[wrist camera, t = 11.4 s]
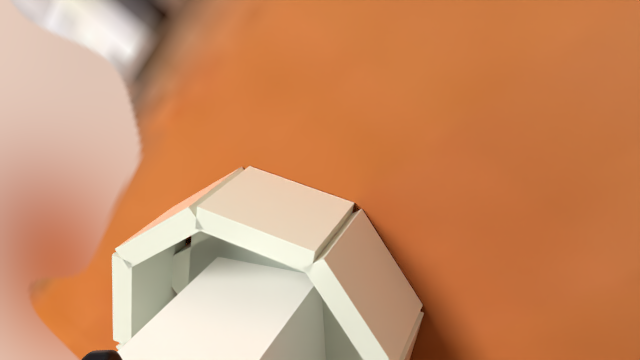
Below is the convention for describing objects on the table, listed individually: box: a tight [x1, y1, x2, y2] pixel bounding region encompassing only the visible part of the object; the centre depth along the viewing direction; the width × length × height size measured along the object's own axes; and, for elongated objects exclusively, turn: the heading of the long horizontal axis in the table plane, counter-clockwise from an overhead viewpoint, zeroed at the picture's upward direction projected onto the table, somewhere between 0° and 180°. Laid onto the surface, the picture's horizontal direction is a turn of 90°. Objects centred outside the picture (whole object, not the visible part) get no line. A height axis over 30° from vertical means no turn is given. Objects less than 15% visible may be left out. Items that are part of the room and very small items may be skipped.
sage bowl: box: [112, 166, 424, 360], centre depth 26 cm, size 13×13×4 cm
